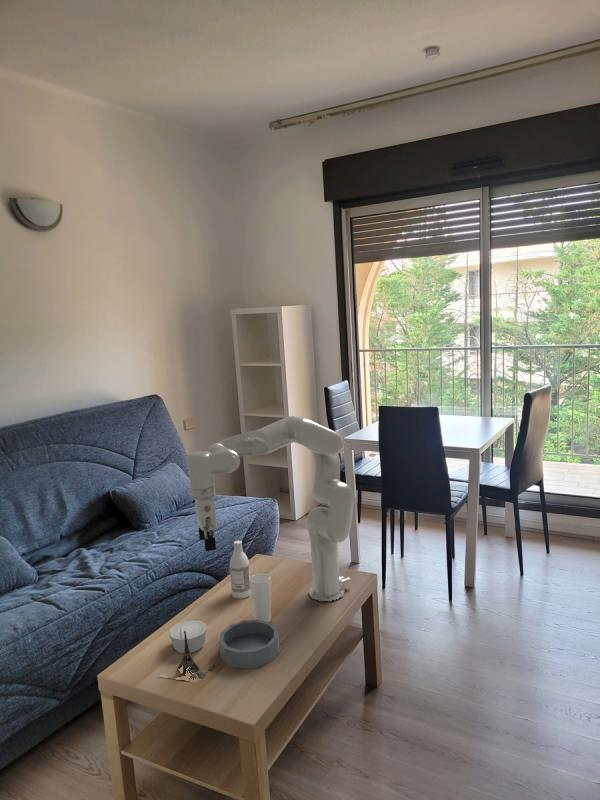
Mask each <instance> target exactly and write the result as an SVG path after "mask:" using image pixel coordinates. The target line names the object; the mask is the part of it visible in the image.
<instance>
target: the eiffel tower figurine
mask: <svg viewBox="0 0 600 800" xmlns="http://www.w3.org/2000/svg"><path fill="white" fill-rule="evenodd" d="M184 636H185V651H184V653H183V658H182V659H181V661H180V663H179V664H178V666H177V667H178V669H180V668H181V667H182V666H183V673H182V676H186V675H185V674H186V671H187V670H186V669H187V668H188V667H189V666H190V667H191V668H190V667H189V669H190V670H189V669H188V671H189V673H190V674H191V676H190V678H191V679H192V678H193V680H194V678H195V679H196V678H197V679H202V680H203V679H206V676H207V673H208V672H213V671H214V669H215V668H216V667H217V665H218V664H219V663H217V662H214V663H213V665H211V666H210V667H208V668H207V671H206V672H203V671H201V669H200V668H199V666H198V664H197V662H196V661H195V660H194V659H193V657H192V655H191V653H190V652H189V648H188V643H187V637H186V631H184ZM178 669H177V670H178ZM188 671H187V673H188ZM190 671H191V672H192V673H194V674H192V673H191V672H190ZM198 671H199V672H198ZM190 678H189V680H190Z"/></svg>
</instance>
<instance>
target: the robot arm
mask: <svg viewBox="0 0 600 800" xmlns="http://www.w3.org/2000/svg"><path fill="white" fill-rule="evenodd" d="M293 443H295V444H299V445H302V446H303V447H306V449H308V450H309V451H310V452H311V453H312V455H313V457H314V460H315V474H314V483H313V498H314V499H315V500H316V501H317V503H320V505H321V504H322V505H324V506H316V507H313V508H312V509H311V510H310V511H309V512H308V515H307V517H306V526H307V531H308V535H309V540H310V542H309V543H310V555H311V571H312V573H311V574H312V586H311V587H310V588H309V590H308V595H309V596H310V598H311V599H313V600H314V599H315V601H317V600H318V601H317V602H323V601H328V602H333V601H332V600H334V601H337V600H340V599H341V598H342V597H344V595H345V593H344V592H345V588H344V586H345V585H347V584H350V583H352V579H351V577H348V576H347V577H346V578H345V577H344V576H340V564H339V563H340V562H339V546H338V545H339V543H342V542H345V540H347V538H348V536H349V534H350V532H351V528H352V520H353V510H354V502H355V501H354V497H355V496H354V491H353V490H352V488H351V487H350V486H349V485H348V484H347V483H345V482H343V481H341V458H340V453H341V451H342V450H343V446H344V442H343V438H342V437H341V435H340V434H339V433H338V432H337V431H334V430H332V429H330V428H327V427H325V426H323V425H321V424H319V423H318V422H314V421H313V420H310V419H308V418H305V417H300V416H297V415H295V416H294V415H290V416H286V417H284V418H282V419H280V420H279V419H278V420H277V421H275V422H273V423H269V424H267V425H265V426H263V427H260V428H259V429H256V430H251V431H247V432H244V433H240V434H236V435H232V436H229V437H226V438H223V439H222V440H220V441H217V442H215V443H213V444H211V445H210V446H209V447H208V448H207V449H206V450H198V451H193V452H191V453H189V454H188V456H187V467H188V479H189V487H190V488H189V489H190V491H189V492H190V499H192V500H194V507H195V516H196V521H197V525H198V538H199V541H203V542H204V549H205V552H211V551H215V550H217V545H216V544H217V543H216V536H215V531H214V529H215V530H217V529H218V522H217V521H218V519H217V513H216V507H215V506H216V505H215V500H214V498H215V497H216V495H217V494H216V493H217V492H216V482H215V475H216V474H217V475H220V474H230V473H233V472H235V471H236V470H237V469H238V468H239V467H240V464H241V457H244V456H264V455H269V454H271V453H273V452H275V451H277V450H280V449H282V448H284V447H286V446H288V445H290V444H293ZM325 506H326V507H325ZM340 597H341V598H340ZM339 598H340V599H339ZM336 599H337V600H336Z"/></svg>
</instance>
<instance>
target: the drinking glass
mask: <svg viewBox="0 0 600 800" xmlns="http://www.w3.org/2000/svg"><path fill="white" fill-rule="evenodd" d="M250 590H251V594H250V596H251V603H252V608H253V615H254V620H262V621H266V622H270V621H271V620H272V612H271V611H272V609H271V608H272V581H271V576H270V575H269V574H267V573H257V574H253V575H252V576H250ZM270 623H271V622H270Z"/></svg>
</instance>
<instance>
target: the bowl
mask: <svg viewBox="0 0 600 800" xmlns="http://www.w3.org/2000/svg"><path fill="white" fill-rule="evenodd" d="M218 645H219V647H218V648H219V657H220V659H221V660H222V661H223V662H224V664H225V666H230V667H233V668H236V669H239V670H243V669H255V668H256V669H257V668H260V667H261V666H264V665H266V664H269V663H271V662H272V661H273V660H274V659H275V658H276V657H277V656H278V655H279V654H280V636H279V628H277V627H276V626H275V625H274V624H273V623H272V622H266V621H262V620H255V619H248V620H247V619H246V620H245V619H244V620H240V621H239V622H236V623H232V624H230V625H229V626H227V627H226V628H225V629H224V630H223V631H221V632H220V634H219V640H218Z"/></svg>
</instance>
